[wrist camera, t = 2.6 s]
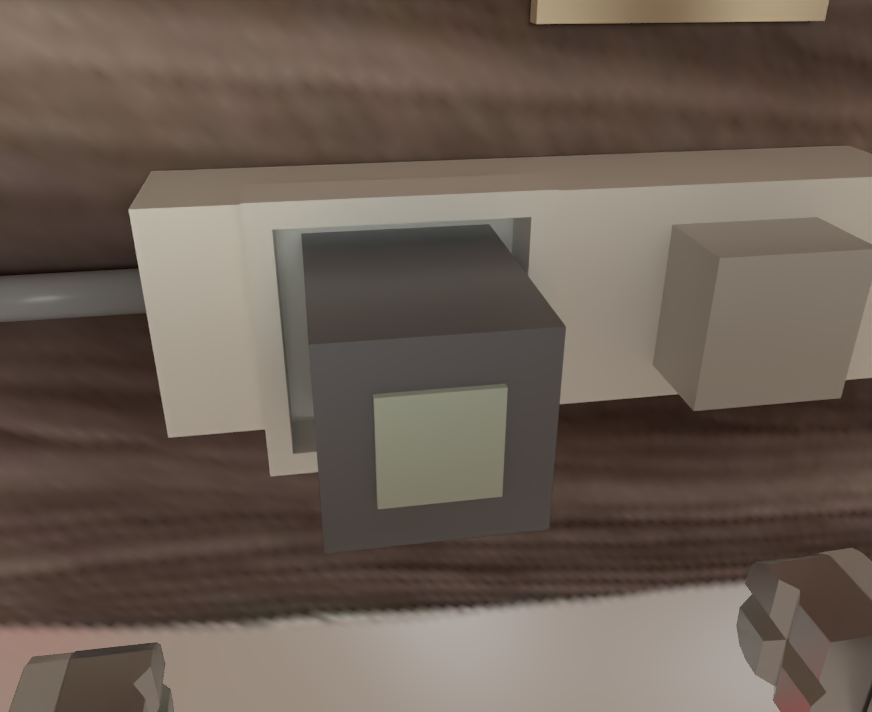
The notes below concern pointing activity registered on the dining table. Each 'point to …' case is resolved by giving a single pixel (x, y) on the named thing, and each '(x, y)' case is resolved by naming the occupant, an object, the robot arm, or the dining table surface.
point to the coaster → (675, 11)
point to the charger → (429, 386)
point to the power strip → (535, 252)
